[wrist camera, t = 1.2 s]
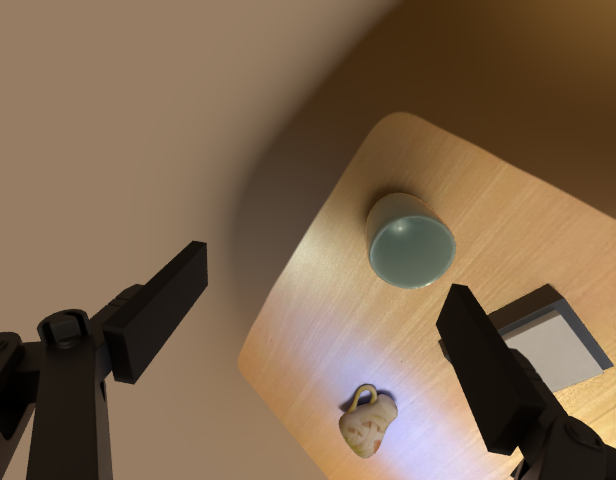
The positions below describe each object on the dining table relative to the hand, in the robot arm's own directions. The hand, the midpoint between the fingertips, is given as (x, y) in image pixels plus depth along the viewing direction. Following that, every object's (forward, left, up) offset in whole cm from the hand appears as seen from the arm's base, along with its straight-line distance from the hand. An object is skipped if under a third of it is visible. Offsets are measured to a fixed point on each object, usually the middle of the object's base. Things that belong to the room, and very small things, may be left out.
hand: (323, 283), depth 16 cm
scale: (-4, +35, -22) cm, 41 cm away
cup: (-3, +8, -22) cm, 23 cm away
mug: (+21, +33, -22) cm, 45 cm away
